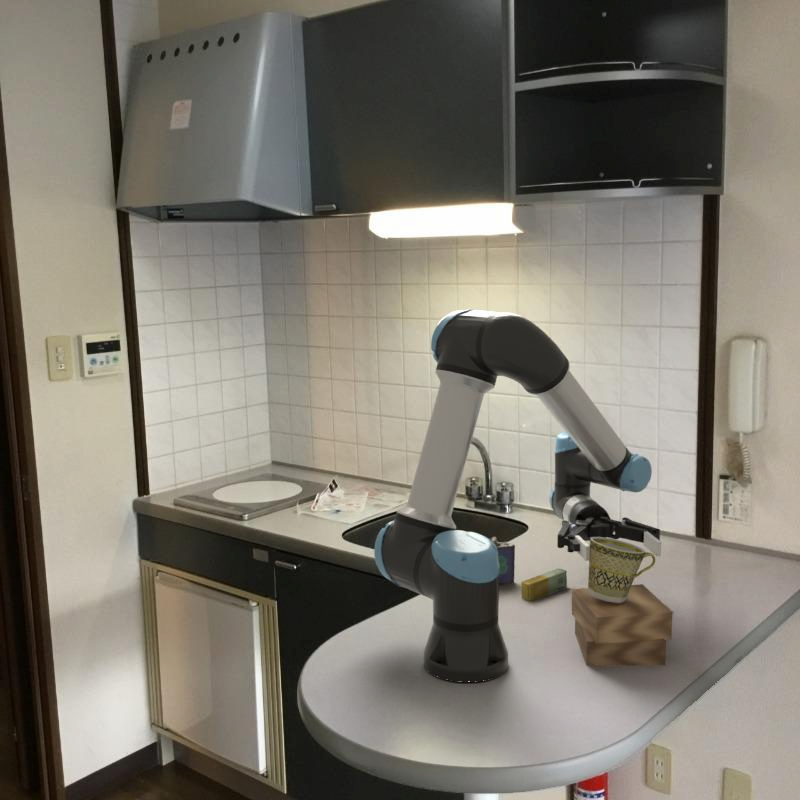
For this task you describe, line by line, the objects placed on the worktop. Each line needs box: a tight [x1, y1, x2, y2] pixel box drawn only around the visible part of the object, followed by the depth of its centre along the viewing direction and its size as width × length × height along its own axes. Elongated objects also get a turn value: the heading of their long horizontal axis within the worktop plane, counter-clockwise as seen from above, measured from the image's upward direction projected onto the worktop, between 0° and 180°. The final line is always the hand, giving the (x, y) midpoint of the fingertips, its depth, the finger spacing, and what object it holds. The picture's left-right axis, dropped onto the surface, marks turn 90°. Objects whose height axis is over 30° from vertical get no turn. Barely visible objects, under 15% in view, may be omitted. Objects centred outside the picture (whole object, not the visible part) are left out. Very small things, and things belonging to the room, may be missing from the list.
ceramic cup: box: [587, 537, 656, 603], centre depth 179 cm, size 13×10×10 cm
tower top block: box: [571, 583, 674, 644], centre depth 180 cm, size 14×14×5 cm
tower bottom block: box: [574, 618, 667, 666], centre depth 181 cm, size 14×14×5 cm
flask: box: [489, 536, 516, 586], centre depth 214 cm, size 9×3×11 cm, turn 109°
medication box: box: [521, 568, 568, 602], centre depth 209 cm, size 12×3×4 cm, turn 130°
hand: (623, 551), depth 179 cm, fingers open, 13 cm apart
